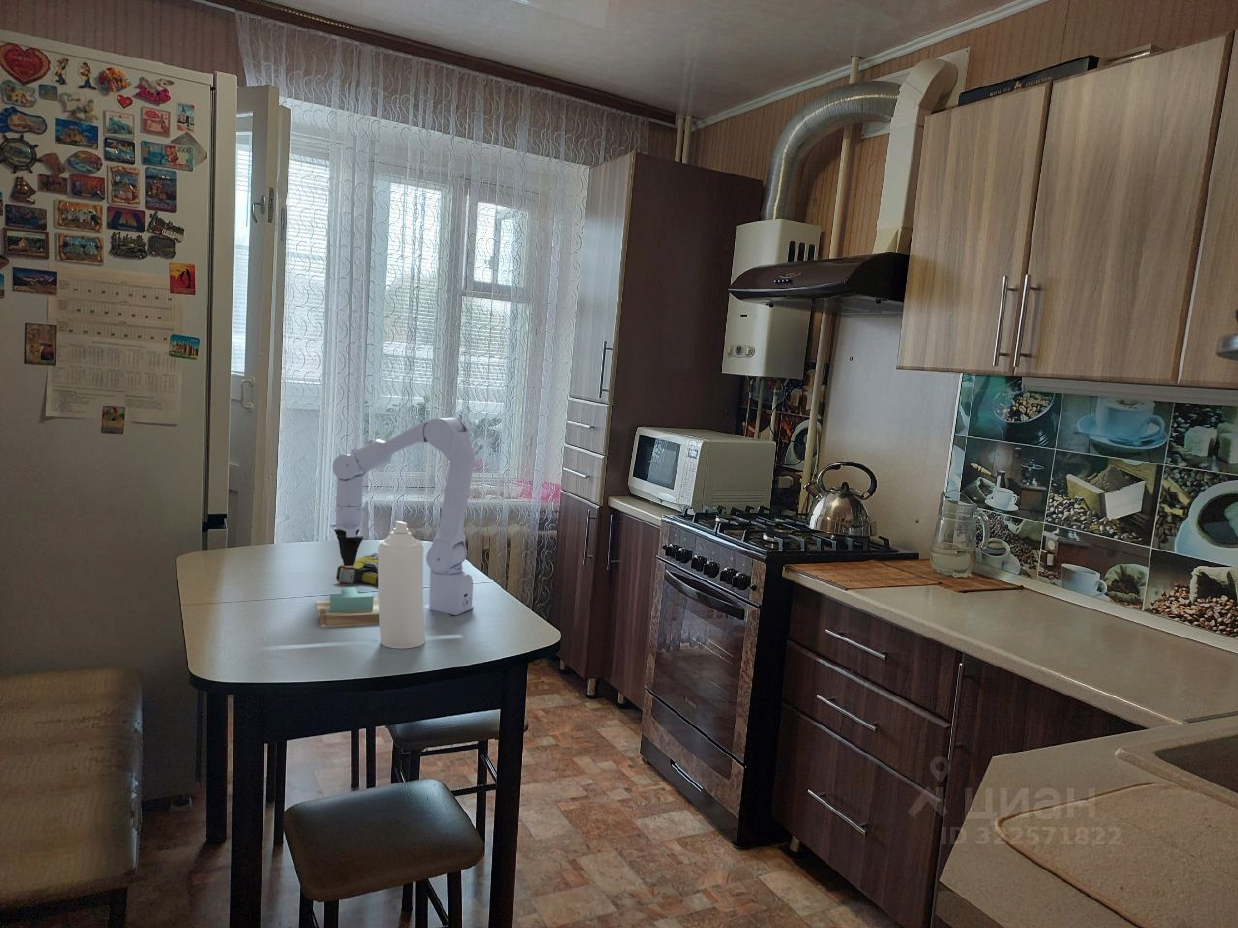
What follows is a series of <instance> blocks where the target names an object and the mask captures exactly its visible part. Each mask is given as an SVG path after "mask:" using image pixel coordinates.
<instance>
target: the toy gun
mask: <svg viewBox="0 0 1238 928" xmlns="http://www.w3.org/2000/svg"><path fill="white" fill-rule="evenodd" d="M335 579H336V581H337V582H338V583H340V584H341V585H344V584H345V585H351V584H352V585H355V584H357V585H358V584H370V585H375V587H377V588H378V552H374V553H371V554H369V555H364V556H362V557H359V558H356V559H355V563H354V566H344V563H343V564H341V565H338V567H337V569H336V577H335Z"/></svg>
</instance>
